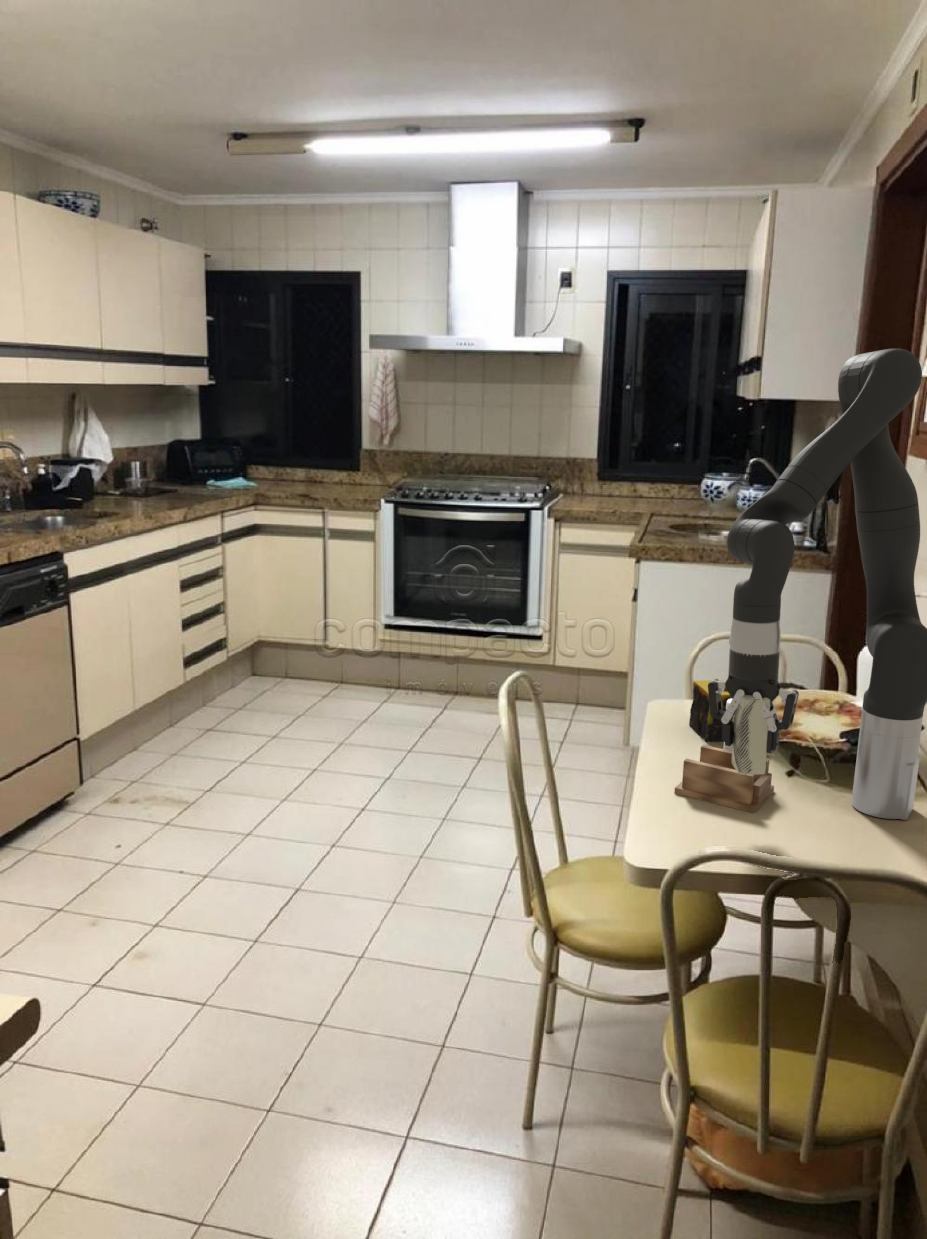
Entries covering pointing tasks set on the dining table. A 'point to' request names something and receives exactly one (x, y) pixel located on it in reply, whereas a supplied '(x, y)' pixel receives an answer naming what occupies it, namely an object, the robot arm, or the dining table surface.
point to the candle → (706, 712)
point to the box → (750, 736)
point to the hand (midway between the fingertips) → (749, 747)
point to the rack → (723, 781)
